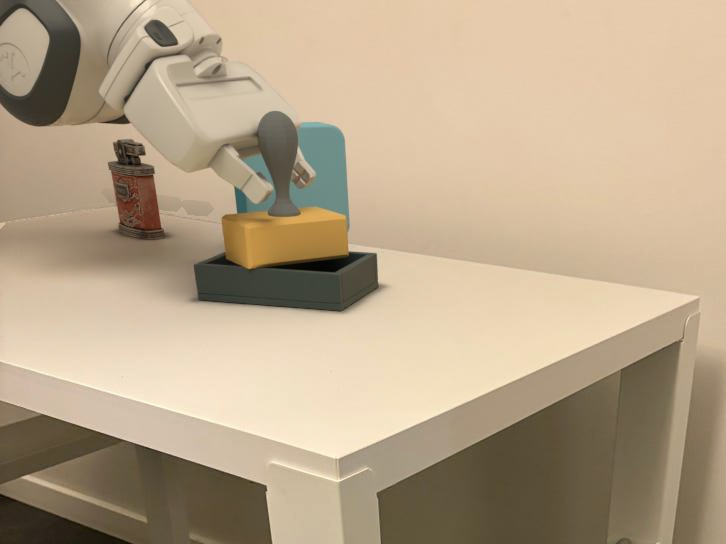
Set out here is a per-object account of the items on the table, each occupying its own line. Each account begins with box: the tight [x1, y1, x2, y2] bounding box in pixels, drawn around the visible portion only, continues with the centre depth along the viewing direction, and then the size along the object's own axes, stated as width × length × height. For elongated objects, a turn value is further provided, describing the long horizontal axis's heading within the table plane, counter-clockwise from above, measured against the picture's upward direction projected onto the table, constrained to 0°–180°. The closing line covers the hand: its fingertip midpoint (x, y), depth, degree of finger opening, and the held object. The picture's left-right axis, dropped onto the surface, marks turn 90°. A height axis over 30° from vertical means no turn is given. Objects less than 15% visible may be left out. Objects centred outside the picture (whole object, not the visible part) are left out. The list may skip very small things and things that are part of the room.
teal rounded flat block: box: [233, 121, 351, 234], centre depth 111 cm, size 12×4×12 cm, turn 119°
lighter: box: [107, 138, 166, 240], centre depth 114 cm, size 8×3×10 cm, turn 43°
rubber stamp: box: [220, 111, 349, 269], centre depth 87 cm, size 10×6×12 cm, turn 125°
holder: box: [193, 250, 379, 312], centre depth 91 cm, size 10×14×3 cm
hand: (288, 190), depth 87 cm, fingers open, 8 cm apart
